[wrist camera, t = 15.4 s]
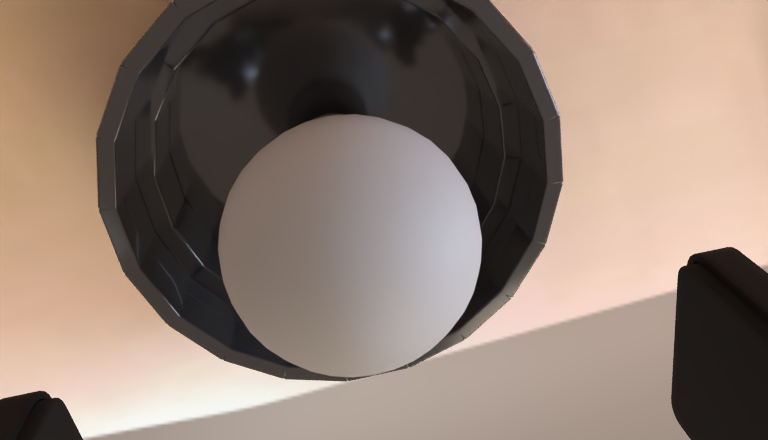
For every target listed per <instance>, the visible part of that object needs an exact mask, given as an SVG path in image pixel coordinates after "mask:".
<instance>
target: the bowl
mask: <svg viewBox="0 0 768 440" xmlns="http://www.w3.org/2000/svg"><path fill="white" fill-rule="evenodd" d="M327 113H340V114H345V115H348V114H358V115H365V116H373V117H379V118H382V119H385V120H388V121H391V122H394V123H397V124H400V125H403V126H405V127H408V128H410V129H412V130H413V131H415V132H417V133H419V134H420V135H422V136H424V137H425V138H427V139H429V140H430V141H431V142H433V143H434V144H435V145H436V146H437V147H438V148H439V149H440V150H441V151H442V152H444V153H445V154H446V155H447V156H448V157H449V159H450V160H451V161H452V163H453V164H454V166H455V167H456V169H457V170H458V171H459V173H460V174H461V176H462V177H463V179H464V180H465V182H466V183H467V185H468V187H469V189H470V192H471V194H472V197H473V199H474V201H475V204H476V207H477V213H478V218H479V224H480V230H481V236H482V249H481V264H480V269H479V274H478V278H477V282H476V285H475V289H474V293H473V295H472V297H471V299H470V301H469V303H468V305H467V307H466V309H465V311H464V313H463V314H462V316H461V317H460V318H459V320H458V321H457V322H456V324H455V325H454V326H453V328H452V329H451V330H450V332H449V333H448V334H447V335H446V336H445V337H444V338H443V339H442V340H441V341H440V342H439V343H437V344H436V345H435V346H434V347H433V348H432V349H431V350H430V351H428V352H427V353H425V354H424V355H422V356H420V357H419V358H417V359H416V360H414V361H413V362H410V363H408V364H406V365H404V366H401V367H399V368H397V369H395V370H391V371H388V372H392V371H396V370H401V369H406V368H408V367H412V366H414V365H416V364H418V363H420V362H422V361H424V360H426V359H428V358H430V357H432V356H434V355H436V354H437V353H439V352H441V351H443V350H445V349H447V348H449V347H451V346H453V345H455V344H457V343H459V342H461V341H463V340H464V338H465V339H466V338H467V337H469V336H470V335H471V334H472V333H473V332H474V331H475V330H476V329H477V328H479V327H480V326H481V325H482V324H483V323H484V322H485V321H486V320H488V319H489V318H490V317H491V316H492V315H493V314H494V313H495V312H497V311H498V310H499V309H500V308H501V307H502V306H503V305H504V304H505V303H507V302H508V301H509V300H510V299H511V297H513V295H514V294H515V292H516V291H517V289H518V287H519V286H520V284H521V283H522V281H523V280H524V278H525V276H526V275H527V273H528V272H529V270H530V269H531V267H532V265H533V264H534V262H535V261H536V259H537V258H538V256H539V254H540V253H541V251H542V250H543V248H544V247H545V244H546V242H547V238H548V234H549V231H550V227H551V224H552V220H553V216H554V213H555V209H556V205H557V202H558V198H559V195H560V191H561V187H562V182H563V171H562V150H561V129H560V116H559V112H558V110H557V107H556V105H555V102H554V100H553V97H552V95H551V92H550V90H549V87H548V85H547V82H546V80H545V77H544V75H543V72H542V70H541V67H540V65H539V63H538V60H537V58H536V55H535V53H534V51H532V48H531V47H530V45H529V44H528V43H527V42H526V41H525V40H524V39H523V38H522V36H521V35H520V34H519V33H518V32H517V31H516V30H515V29H514V27H513V26H512V25H511V24H510V23H509V22H508V21H507V20H506V18H505V17H504V16H503V15H502V14H501V13H500V12H499V11H498V9H497V8H496V7H495V6H494V5H493V4H492V3H491V2H490V0H173V1H172V2H171V3H170V4H169V5H168V6H167V8H166V9H165V10H164V11H163V12H162V14H161V15H160V16H159V17H158V19H157V20H156V21H155V22H154V23H153V25H152V26H151V27H150V28H149V30H148V31H147V32H146V33H145V34H144V36H143V37H142V38H141V39H140V40H139V42H138V43H137V44H136V45H135V47H134V48H133V49H132V50H131V51H130V53H129V54H128V55H127V56H126V58H125V59H124V60H123V61H122V64H121V65H120V67H119V70H118V72H117V75H116V78H115V81H114V84H113V87H112V90H111V93H110V96H109V99H108V102H107V105H106V108H105V111H104V114H103V117H102V120H101V123H100V126H99V129H98V132H97V137H96V155H97V185H98V207H99V212H100V214H101V217H102V219H103V222H104V224H105V227H106V229H107V232H108V234H109V237H110V239H111V242H112V244H113V247H114V249H115V252H116V254H117V257H118V259H119V262H120V265H121V267H122V270H123V272H124V273H125V275H126V276H127V278H128V279H129V280H130V281H131V282H132V283H133V285H134V286H135V287H136V288H137V289H138V291H139V292H140V293H141V294H142V295H143V296H144V298H145V299H146V300H147V301H148V302H149V304H150V305H151V306H152V307H153V308H154V309H155V311H156V312H157V313H158V314H159V315H160V317H161V318H162V319H163V320H164V321H165V322H166V323H167V324H168V325H169V326H170V327H172V328H173V329H175V330H176V331H178V332H179V333H181V334H183V335H184V336H186V337H187V338H189V339H190V340H192V341H193V342H195V343H197V344H198V345H200V346H201V347H203V348H204V349H206V350H207V351H209V352H211V353H212V354H214V355H215V356H217V357H218V358H220V359H223V360H224V361H227V362H230V363H233V364H237V365H240V366H243V367H247V368H250V369H253V370H256V371H260V372H263V373H266V374H270V375H273V376H276V377H279V378H285V379H296V380H324V381H347V380H348V381H351V380H356V379H360V378H365V377H369V376H361V377H338V376H329V375H324V374H320V373H315V372H311V371H309V370H306V369H304V368H301V367H299V366H297V365H294V364H292V363H290V362H288V361H286V360H284V359H283V358H281V357H279V356H278V355H276V354H275V353H273V352H272V351H270V350H269V349H267V348H266V347H265V346H264V345H263V344H262V343H261V342H260V341H259V340H258V339H257V338H255V337H254V336H253V335H252V334H251V333H250V331H249V330H248V328H247V327H246V325H245V324H244V322H243V321H242V319H241V318H240V316H239V315H238V313H237V312H236V310H235V308H234V307H233V305H232V303H231V300H230V298H229V295H228V293H227V290H226V288H225V285H224V282H223V277H222V273H221V266H220V260H219V253H218V241H219V228H220V222H221V218H222V214H223V211H224V208H225V204H226V201H227V198H228V195H229V192H230V190H231V188H232V187H233V185H234V183H235V181H236V180H237V178H238V176H239V174H240V173H241V171H242V170H243V168H244V167H245V166H246V165H247V164H248V163H249V162H250V161H251V160H252V158H253V157H254V156H255V155H256V154H257V153H258V152H259V151H260V150H261V149H262V148H264V147H265V146H266V145H267V144H269V143H270V142H271V141H273V140H274V139H275V138H277V137H278V136H280V135H281V134H282V133H284V132H285V131H288V130H290V129H292V128H294V127H296V126H298V125H300V124H302V123H304V122H307V121H311V120H312V119H314V118H316V117H318V116H320V115H323V114H327ZM388 372H384V373H388ZM380 374H383V373H380ZM376 375H379V374H376ZM371 376H374V375H371Z"/></svg>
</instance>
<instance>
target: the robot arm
mask: <svg viewBox="0 0 768 440" xmlns="http://www.w3.org/2000/svg"><path fill="white" fill-rule="evenodd" d="M671 399H672V408H673V411H674V414H675V416H676V419H677V421H678V422H679V424H680V425H681V427H682V428H683V430H684V431H685V432H686V434H687V435H688V436H689V438H690V439H691V440H768V273H767V272H765V271H764V270H763V269H762V268H760V267H759V266H758V265H756V264H755V263H754V262H753V261H751V260H750V259H749V258H747V257H746V256H745V255H744V254H742V253H741V252H740V251H739V250H737V249H735V248H733V247H726V248H721V249H717V250H712V251H707V252H702V253H697V254H694V255H692V256H690V258H689V260H688V263H687V266H683V267H681V268H680V270H679V273H678V284H677V302H676V321H675V341H674V358H673V377H672V395H671ZM0 440H83V439H82V437H81V435H80V433H79V431H78V429H77V427H76V425H75V423H74V421H73V419H72V417H71V415H70V413H69V411H68V409H67V408H66V406H65V404H64V402H63V401H62V400H61V399H59V398H51V397H50V395H49V394H47V393H46V392H45V391H37V392H32V393H27V394H23V395H18V396H13V397H8V398H3V399H1V400H0Z"/></svg>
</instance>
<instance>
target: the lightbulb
mask: <svg viewBox="0 0 768 440" xmlns="http://www.w3.org/2000/svg"><path fill="white" fill-rule="evenodd" d="M481 249H482V236H481V230H480V224H479V218H478V213H477V207H476V204H475V201H474V199H473V197H472V194H471V192H470V189H469V187H468V185H467V183H466V182H465V180H464V179H463V177H462V176H461V174H460V173H459V171H458V170H457V169H456V167H455V166H454V164H453V163H452V161H451V160H450V159H449V157H448V156H447V155H446V154H445V153H444V152H442V151H441V150H440V149H439V148H438V147H437V146H436V145H435V144H434V143H433V142H431V141H430V140H429V139H427V138H425V137H424V136H422V135H420V134H419V133H417V132H415V131H413V130H412V129H410V128H408V127H405V126H403V125H400V124H397V123H394V122H391V121H388V120H385V119H382V118H379V117H373V116H365V115H358V114H348V115H345V114H340V113H327V114H323V115H320V116H318V117H316V118H314V119H312V120H311V121H307V122H304V123H302V124H300V125H298V126H296V127H294V128H292V129H290V130H288V131H285V132H284V133H282V134H281V135H280V136H278V137H277V138H275V139H274V140H273V141H271V142H270V143H269V144H267V145H266V146H265V147H264V148H262V149H261V150H260V151H259V152H258V153H257V154H256V155H255V156H254V157H253V158H252V160H251V161H250V162H249V163H248V164H247V165H246V166H245V167H244V168H243V170H242V171H241V173H240V174H239V176H238V178H237V180H236V181H235V183H234V185H233V187H232V188H231V190H230V192H229V195H228V198H227V201H226V204H225V208H224V211H223V214H222V218H221V222H220V228H219V241H218V253H219V260H220V266H221V273H222V277H223V282H224V285H225V288H226V290H227V293H228V295H229V298H230V300H231V303H232V305H233V307H234V308H235V310H236V312H237V313H238V315H239V316H240V318H241V319H242V321H243V322H244V324H245V325H246V327H247V328H248V330H249V331H250V333H251V334H252V335H253V336H254V337H255V338H257V339H258V340H259V341H260V342H261V343H262V344H263V345H264V346H265V347H266V348H267V349H269V350H270V351H272V352H273V353H275V354H276V355H278V356H279V357H281V358H283V359H284V360H286V361H288V362H290V363H292V364H294V365H297V366H299V367H301V368H304V369H306V370H309V371H311V372H315V373H320V374H324V375H329V376H338V377H361V376H371V375H376V374H380V373H384V372H388V371H391V370H395V369H397V368H399V367H401V366H404V365H406V364H408V363H410V362H413V361H414V360H416V359H417V358H419V357H420V356H422V355H424V354H425V353H427V352H428V351H430V350H431V349H432V348H433V347H434V346H435V345H436V344H437V343H439V342H440V341H441V340H442V339H443V338H444V337H445V336H446V335H447V334H448V333H449V332H450V330H451V329H452V328H453V326H454V325H455V324H456V322H457V321H458V320H459V318H460V317H461V316H462V314H463V313H464V311H465V309H466V307H467V305H468V303H469V301H470V299H471V297H472V295H473V293H474V289H475V285H476V282H477V278H478V274H479V269H480V264H481Z"/></svg>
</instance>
